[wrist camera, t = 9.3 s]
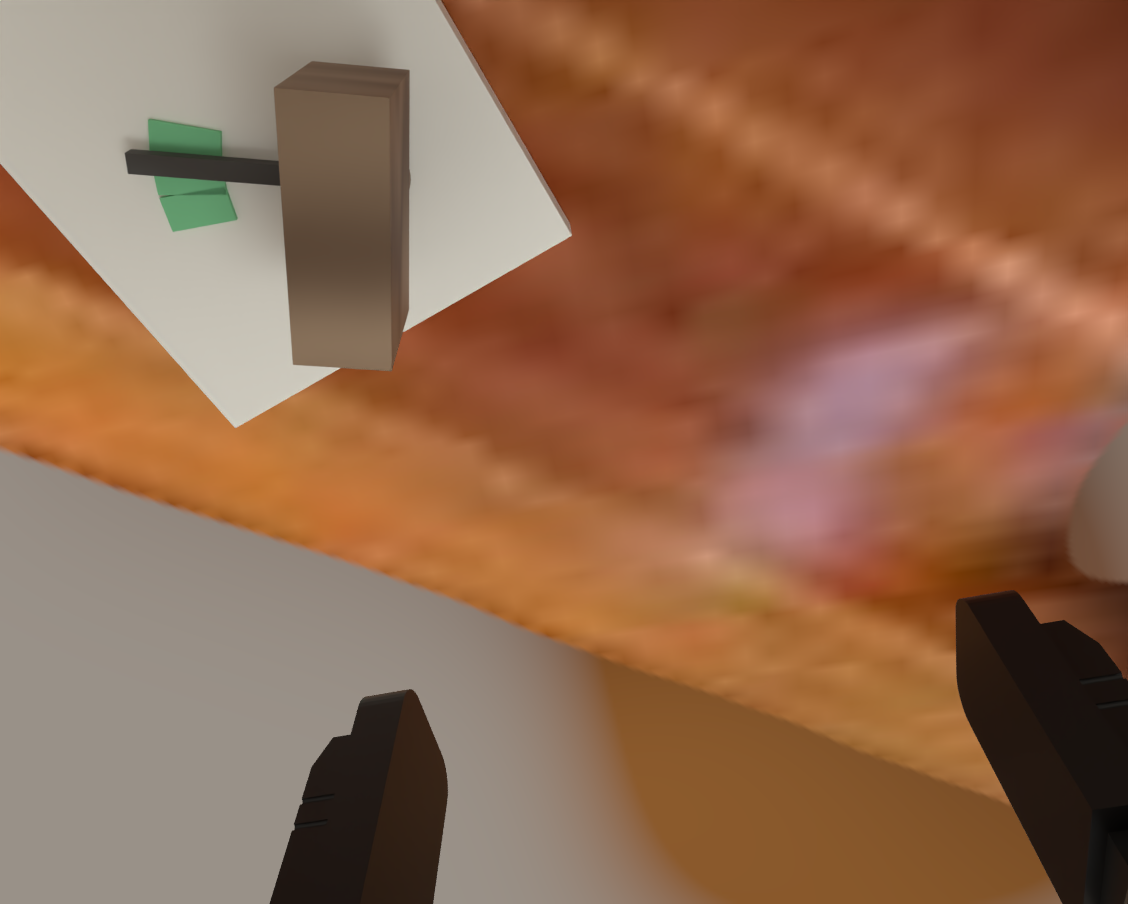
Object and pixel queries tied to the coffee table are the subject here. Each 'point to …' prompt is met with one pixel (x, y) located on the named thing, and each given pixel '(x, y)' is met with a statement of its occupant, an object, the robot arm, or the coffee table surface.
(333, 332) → the wooden toy mallet
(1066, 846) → the robot arm
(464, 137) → the dial plate
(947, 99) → the coffee table surface
